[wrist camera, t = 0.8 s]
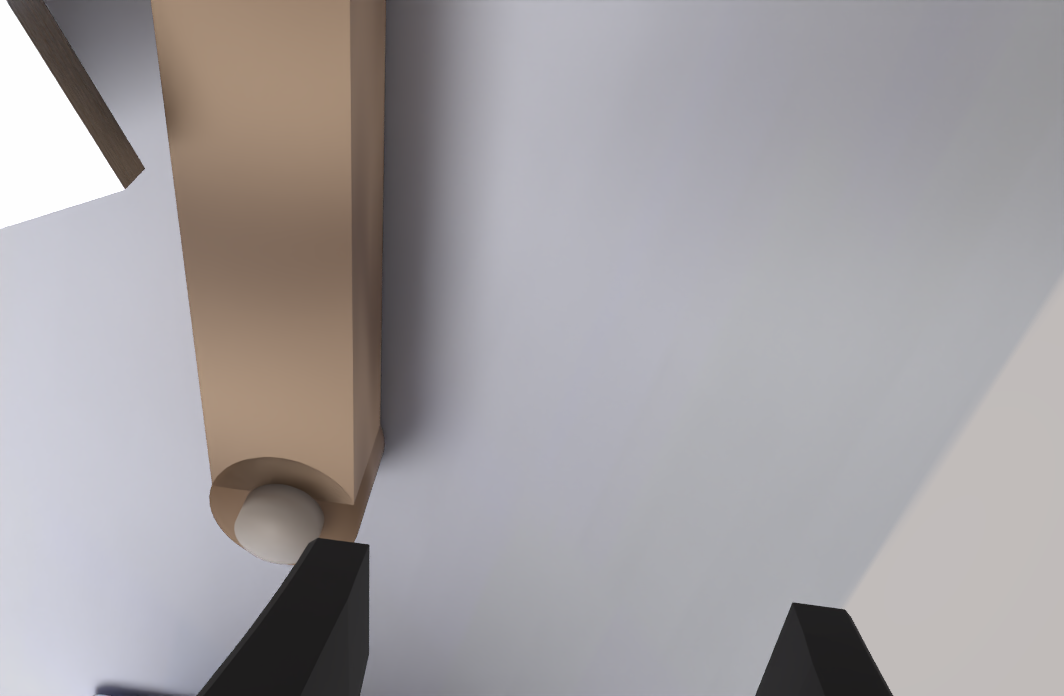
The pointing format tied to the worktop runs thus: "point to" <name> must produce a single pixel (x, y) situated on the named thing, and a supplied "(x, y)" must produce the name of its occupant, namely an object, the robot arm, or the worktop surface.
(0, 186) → the bracket
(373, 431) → the link
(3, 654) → the worktop surface
